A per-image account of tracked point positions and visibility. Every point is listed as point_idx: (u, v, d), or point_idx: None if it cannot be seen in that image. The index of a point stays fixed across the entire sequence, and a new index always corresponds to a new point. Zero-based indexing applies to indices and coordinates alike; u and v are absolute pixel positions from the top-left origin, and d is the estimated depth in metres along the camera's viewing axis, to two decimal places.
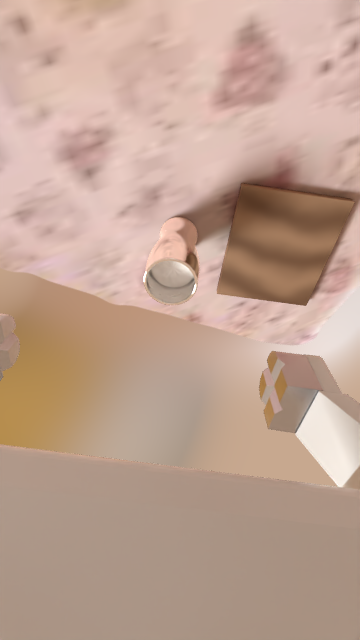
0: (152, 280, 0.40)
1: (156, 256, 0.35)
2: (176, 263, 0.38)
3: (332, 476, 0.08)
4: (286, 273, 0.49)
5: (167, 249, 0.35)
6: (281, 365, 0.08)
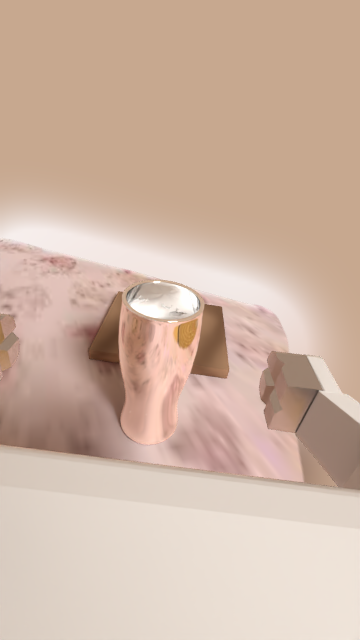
0: None
1: (125, 321, 0.22)
2: None
3: (332, 476, 0.08)
4: None
5: (119, 321, 0.24)
6: (281, 365, 0.08)
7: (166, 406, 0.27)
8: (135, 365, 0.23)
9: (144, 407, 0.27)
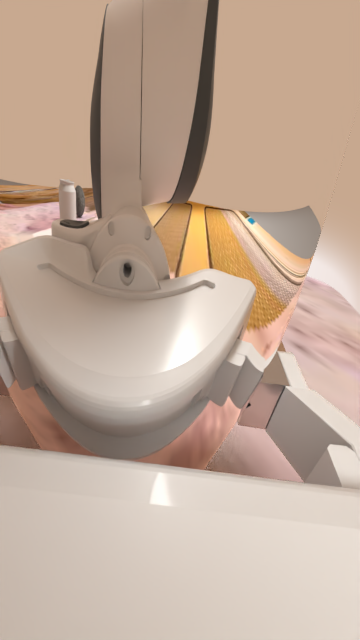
0: None
1: None
2: None
3: (299, 472, 0.08)
4: None
5: None
6: None
7: None
8: (17, 353, 0.04)
9: None
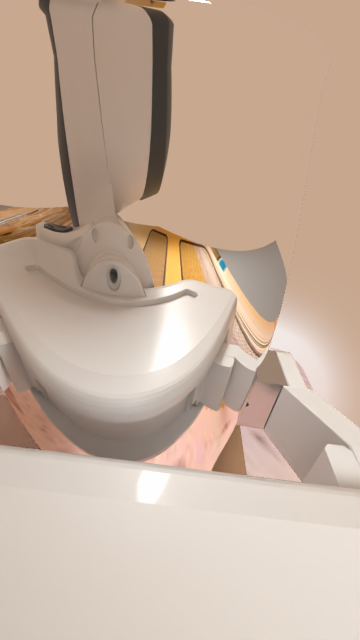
0: None
1: None
2: None
3: (296, 471, 0.08)
4: None
5: None
6: None
7: None
8: (10, 374, 0.05)
9: None
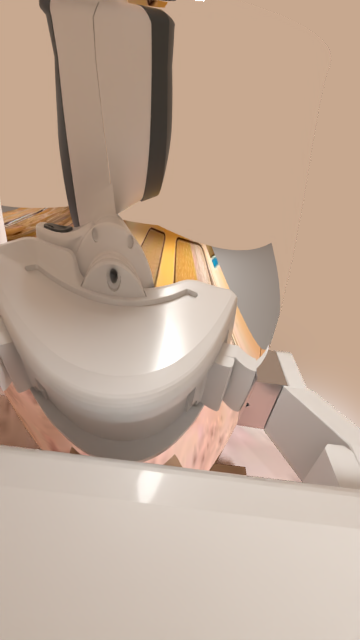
0: None
1: None
2: None
3: (297, 471, 0.08)
4: None
5: None
6: None
7: None
8: (9, 374, 0.05)
9: None
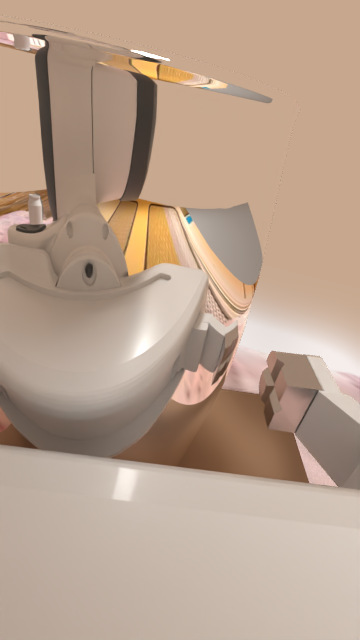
0: None
1: None
2: None
3: (332, 476, 0.08)
4: (200, 463, 0.15)
5: None
6: (281, 365, 0.08)
7: None
8: None
9: None
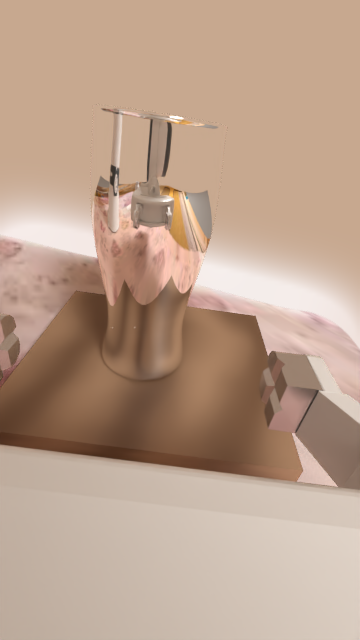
0: None
1: (96, 140, 0.13)
2: None
3: (332, 476, 0.08)
4: (199, 341, 0.25)
5: None
6: (281, 365, 0.08)
7: (165, 314, 0.18)
8: (113, 222, 0.14)
9: (132, 314, 0.18)
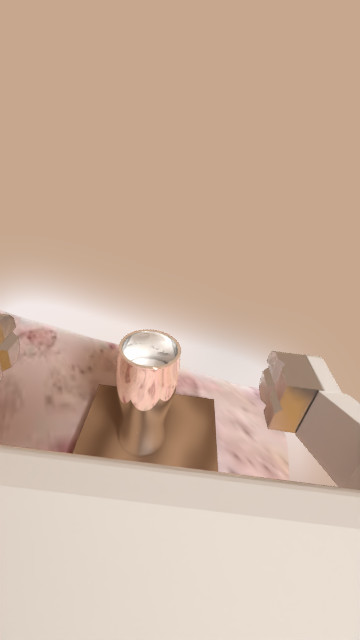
0: None
1: (120, 365, 0.30)
2: None
3: (332, 476, 0.08)
4: (175, 424, 0.41)
5: (117, 363, 0.32)
6: (281, 365, 0.08)
7: (153, 427, 0.34)
8: (128, 397, 0.31)
9: (136, 427, 0.34)
